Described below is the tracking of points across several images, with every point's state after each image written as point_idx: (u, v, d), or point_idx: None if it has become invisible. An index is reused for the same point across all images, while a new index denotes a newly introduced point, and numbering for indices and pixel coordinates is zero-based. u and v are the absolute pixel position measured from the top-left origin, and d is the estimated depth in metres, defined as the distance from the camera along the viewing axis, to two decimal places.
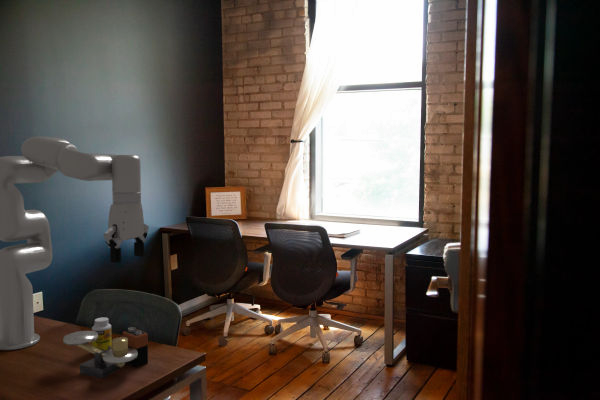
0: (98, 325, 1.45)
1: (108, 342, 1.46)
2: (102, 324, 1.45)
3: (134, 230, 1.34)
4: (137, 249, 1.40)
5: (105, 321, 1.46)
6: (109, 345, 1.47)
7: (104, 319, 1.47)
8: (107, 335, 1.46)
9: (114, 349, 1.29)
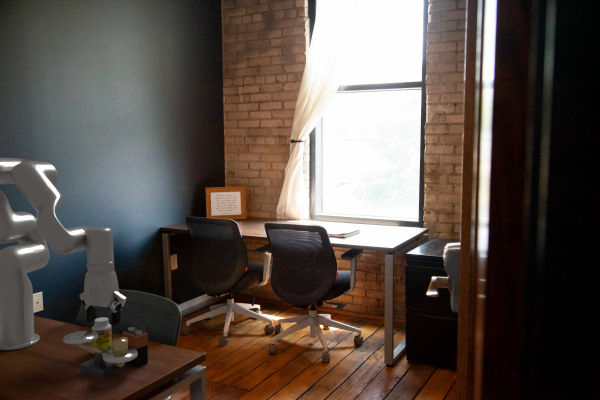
0: (98, 325, 1.45)
1: (108, 342, 1.46)
2: (102, 324, 1.45)
3: None
4: (91, 315, 1.48)
5: (105, 321, 1.46)
6: (109, 345, 1.47)
7: (104, 319, 1.47)
8: (107, 335, 1.46)
9: (114, 349, 1.29)
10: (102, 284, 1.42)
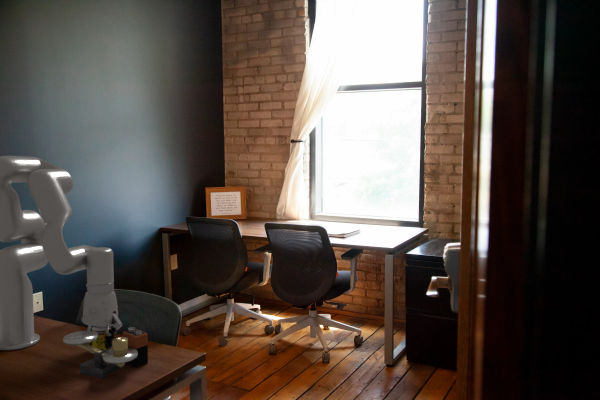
0: None
1: None
2: None
3: None
4: None
5: None
6: None
7: None
8: None
9: (114, 349, 1.29)
10: (101, 305, 1.43)
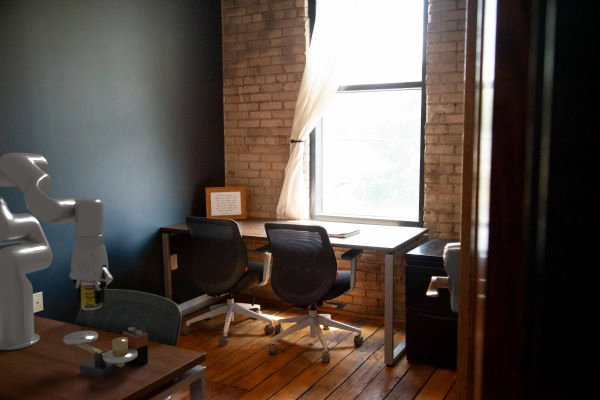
0: None
1: None
2: None
3: None
4: None
5: None
6: None
7: None
8: None
9: (114, 349, 1.29)
10: (91, 258, 1.36)
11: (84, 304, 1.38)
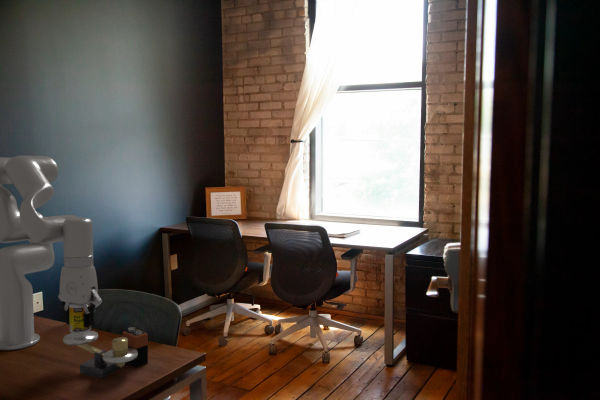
0: None
1: None
2: None
3: None
4: None
5: None
6: None
7: None
8: None
9: (114, 349, 1.29)
10: (79, 279, 1.31)
11: (72, 328, 1.33)
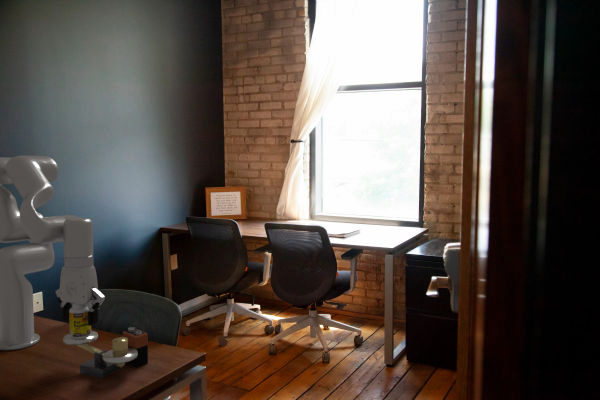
0: (76, 307, 1.33)
1: (87, 326, 1.34)
2: (80, 306, 1.33)
3: None
4: (68, 313, 1.37)
5: None
6: (88, 329, 1.35)
7: None
8: (86, 318, 1.34)
9: (114, 349, 1.29)
10: (79, 280, 1.31)
11: (72, 333, 1.33)
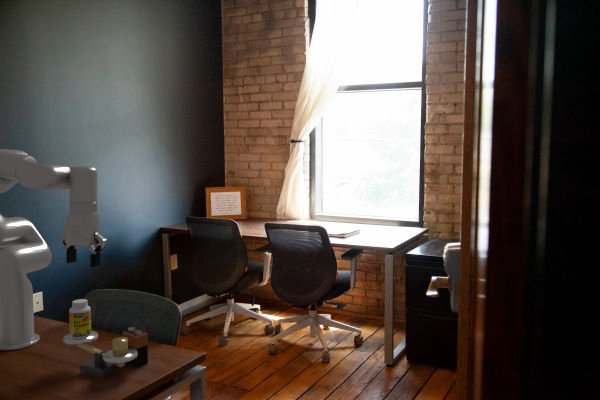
0: (76, 307, 1.33)
1: (87, 326, 1.34)
2: (80, 306, 1.33)
3: None
4: (71, 256, 1.45)
5: (84, 303, 1.34)
6: (88, 328, 1.35)
7: (83, 301, 1.35)
8: (85, 318, 1.34)
9: (114, 349, 1.29)
10: (83, 223, 1.39)
11: (72, 333, 1.33)
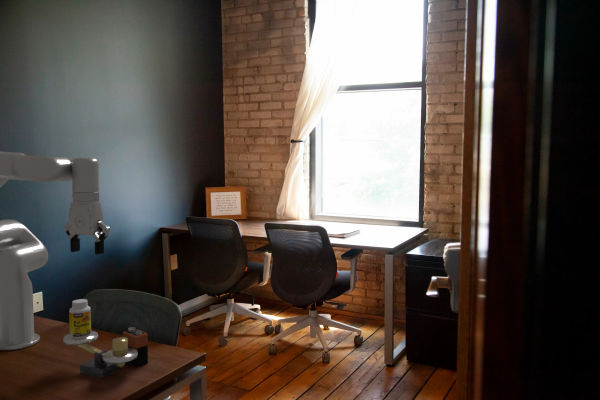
0: (76, 307, 1.33)
1: (87, 326, 1.34)
2: (80, 306, 1.33)
3: None
4: (75, 245, 1.50)
5: (84, 303, 1.34)
6: (88, 328, 1.35)
7: (83, 301, 1.35)
8: (86, 318, 1.34)
9: (114, 349, 1.29)
10: (86, 212, 1.44)
11: (72, 333, 1.33)
